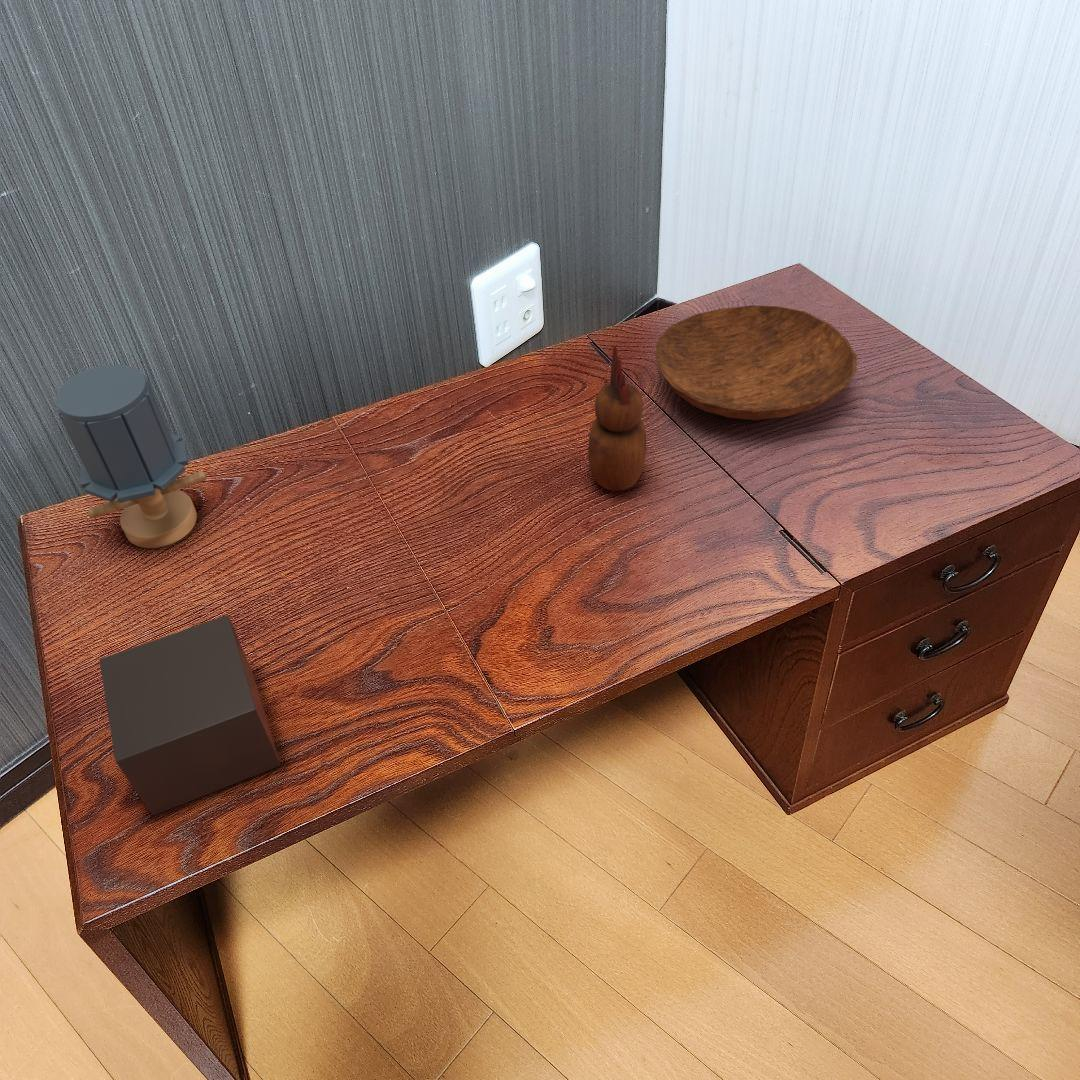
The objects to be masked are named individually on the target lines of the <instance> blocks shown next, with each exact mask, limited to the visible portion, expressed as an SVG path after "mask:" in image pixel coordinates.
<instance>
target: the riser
mask: <svg viewBox="0 0 1080 1080" xmlns="http://www.w3.org/2000/svg"><path fill="white" fill-rule="evenodd" d="M241 644H242V643H241V642H240V639H239V637H238V635H237V632H236V630H235V627H234V626H233V623H232V620H231V618H230V616H229V615H228V614H227V615H224V616H221V617H218V618H215V619H212V620H209V621H206V622H203V623H200V624H198V625H194V626H192V627H189V628H185V629H182V630H179V631H178V632H177V631H176V632H175V633H171V634H168V635H165V636H163V637H160V638H157V639H154V640H151V641H148V642H145V643H142V644H139V645H136V646H133V647H131V648H128V649H125V650H122V651H119V652H116V653H113V654H110V655H107V656H104V657H102V658H99V666H100V667H99V668H100V673H101V679H102V687H103V691H104V692H103V693H104V698H105V704H106V710H107V718H108V723H109V730H110V735H111V742H112V747H113V748H112V749H113V756H114V760H115V763H116V764H117V766H118V767H119V769H120V770H121V772H122V774H124V776H125V778H126V779H127V780H128V782H129V784H130V785H131V786H132V788H133V789H134V791H135V793H136V794H137V796H138V797H139V798H140V800H141V801H142V802H143V804H144V805H145V807H146V809H147V811H149V813H150V814H151V816H152V817H154V816H156V815H159V814H162V813H164V812H167V811H169V810H173V809H174V808H177V807H179V806H182V805H185V804H187V803H189V802H192V801H195V800H197V799H200V798H203V797H205V796H207V795H210V794H213V793H215V792H218V791H220V790H223V789H225V788H228V787H230V786H233V785H236V784H238V783H240V782H243V781H245V780H248V779H251V778H253V777H256V776H259V775H261V774H264V773H266V772H269V771H271V770H274V769H276V768H279V767H281V765H282V764H281V761H280V757H279V754H278V751H277V748H276V745H275V741H274V738H273V735H272V732H271V728H270V725H269V722H268V717H267V714H266V712H265V707H264V705H263V701H262V698H261V696H260V695H261V694H260V691H259V689H258V685H257V681H256V678H255V674H254V672H253V670H252V668H251V665H250V663H249V660H248V658H247V656H246V653H245V651H244V649H243V646H242V645H241Z"/></svg>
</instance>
